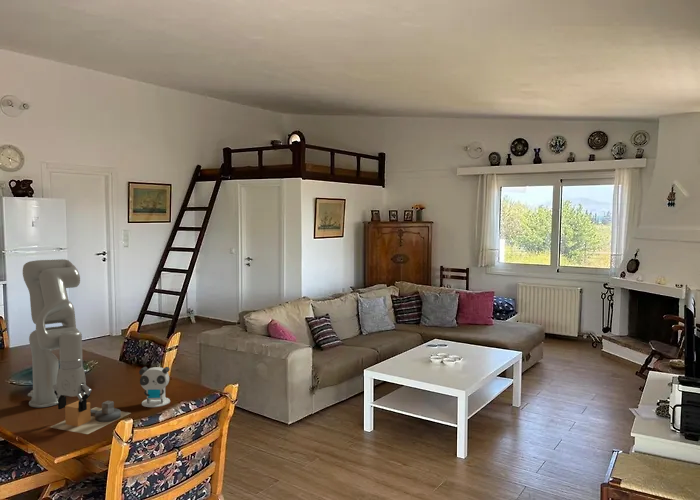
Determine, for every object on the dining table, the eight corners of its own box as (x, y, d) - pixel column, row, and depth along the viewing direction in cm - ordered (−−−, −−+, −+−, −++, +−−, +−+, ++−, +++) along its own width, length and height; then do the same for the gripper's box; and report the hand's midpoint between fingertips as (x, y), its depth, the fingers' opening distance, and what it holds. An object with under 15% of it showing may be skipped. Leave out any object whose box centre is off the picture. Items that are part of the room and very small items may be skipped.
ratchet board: (49, 431, 196) (48, 411, 195) (95, 410, 217) (95, 392, 216) (87, 438, 190) (87, 417, 190) (131, 416, 211) (131, 398, 210)
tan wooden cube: (65, 424, 199) (65, 406, 198) (78, 418, 204) (78, 400, 204) (78, 426, 197) (77, 408, 196) (90, 420, 202) (90, 402, 202)
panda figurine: (135, 407, 219) (135, 371, 218) (146, 397, 231) (145, 363, 230) (164, 407, 219) (164, 371, 219) (173, 398, 231) (173, 364, 230)
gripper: (44, 365, 197) (46, 410, 198) (81, 368, 192) (82, 415, 193) (61, 360, 204) (62, 404, 205) (97, 363, 199) (98, 408, 200)
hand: (72, 409), depth 199 cm, fingers open, 9 cm apart
